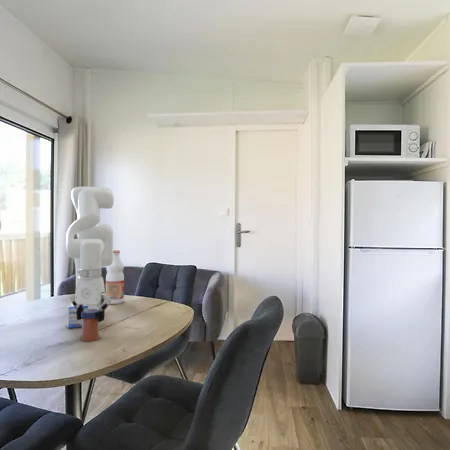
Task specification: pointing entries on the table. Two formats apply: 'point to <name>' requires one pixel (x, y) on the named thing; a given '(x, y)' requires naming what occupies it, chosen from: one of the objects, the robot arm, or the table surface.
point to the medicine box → (74, 316)
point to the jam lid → (89, 313)
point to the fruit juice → (115, 279)
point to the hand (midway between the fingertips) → (90, 319)
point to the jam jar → (90, 329)
